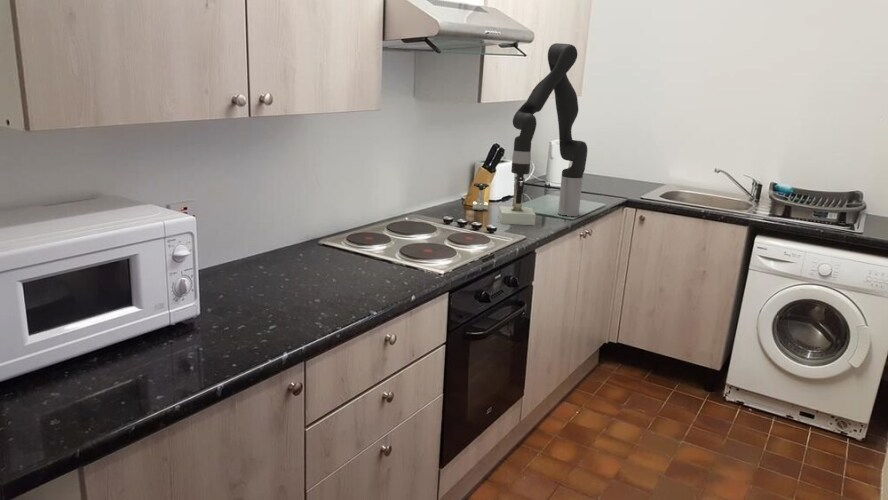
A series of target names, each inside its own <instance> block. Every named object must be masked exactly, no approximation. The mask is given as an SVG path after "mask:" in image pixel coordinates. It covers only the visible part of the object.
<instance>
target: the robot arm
mask: <svg viewBox="0 0 888 500" xmlns="http://www.w3.org/2000/svg"><path fill="white" fill-rule="evenodd" d="M577 58H578V49H577V47H576V46H575V45H573V44H570V43H561V42H560V43H558V42H557V43H553V44H551V45H550V46H549V48H548V51H547V62H548V67H549V70H550V72H549V73H548V74H547V75H546V76H544V77H543V79H541V80H540V81H539V82H538V83H537V84H536V85H535V87H534V88H533V89H532V91H531V93H530V94H529V96H528V98H527V100H526V101H525V102H523V104H522V105H521V106H520V107H519V109H517V111H516V112H515V114H514V115H513V118H512V125H513V127H514V128H515V129H516V130H520V132H519V135H518V136H516V137H514V141H513V152H512V158H511V159H512V160H511V173H512V174H515V177H514V190H515V189H516V204H521V198H522V199H523V197H522V194H523V195H524V189H525V183H526V178H525V175H529V174H530V172H531V171H530V170H531V169H530V168H531V159H532V157H531V155H532V154H531V151H532V150H531V149H532V141H533V138H534V135H535V132H536V129H537V118H536V116H535V115H534V114H536V113H538V112H540V111H542V110H543V108H544V106H545V104H546V103H547V101H548V99H549V97H550V96H551V94H552V92H553V91H554V98H555V99H554V102H555V109H556V116H557V125H558V136H559V140H558V141H559V145H558V146H559V154H560V158H561V159H563V160H565V161H567V162H569V161H570V162H571V166H570V167H568V168H564V169H562V170H561V177H560V178H561V179H560V180H561V181H560V189H559V199H558V200H559V201H558V209H557V210H558V212H557V214H558V213H559V214H561V215H560V216H562V215H567V216H566V217H571V216H574V217H578V215H580V207H581V197H582V187H583V177H584V173H585V170H586V164H587V157H588V145H587V143H586V142H585V141H582V140H577V139H575V140H574V139H573V137H572V136H573V135H572V128H573V124H574V123H575V122H576V120H577V119H576V118H577V117H578V114H579V102H578V101H579V100H578V95H577V92H576V90H575V89H574V87H573V84H572V82H571V81H570V80H569V77H568V75H567V73H568V72H569V71H570V70H571V68H572V67H573V66H574V64H575V63H576V61H577ZM517 186H518V187H517ZM519 189H521V191H518V190H519ZM559 214H558V215H559Z"/></svg>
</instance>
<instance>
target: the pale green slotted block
mask: <svg viewBox="0 0 888 500" xmlns="http://www.w3.org/2000/svg"><path fill="white" fill-rule="evenodd" d="M536 215H537V214H536V213H535V211H534V209H533V207H523V206H522V209H521V211H515V210H513V206H504V205H503V206H502V205H500V206H499V213H498V217H499V221H500V224H502V225H521V226H522V225H523V226H535V225H536V217H537V216H536Z"/></svg>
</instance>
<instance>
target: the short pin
mask: <svg viewBox="0 0 888 500" xmlns="http://www.w3.org/2000/svg"><path fill="white" fill-rule="evenodd" d="M474 221H475V210H469V209H468V210H465V222H470V223H471V222H472V223H473V222H474Z"/></svg>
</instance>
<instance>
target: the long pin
mask: <svg viewBox="0 0 888 500" xmlns="http://www.w3.org/2000/svg"><path fill="white" fill-rule="evenodd" d="M517 187H518V186H517ZM518 191H521V189H519V190H518ZM523 196H524V193H523V194H522V198H521V204H516V189H515V188H514V196H513V206H512V207H513V210H515V211H521V209H522V207H523V198H524V197H523Z"/></svg>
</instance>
